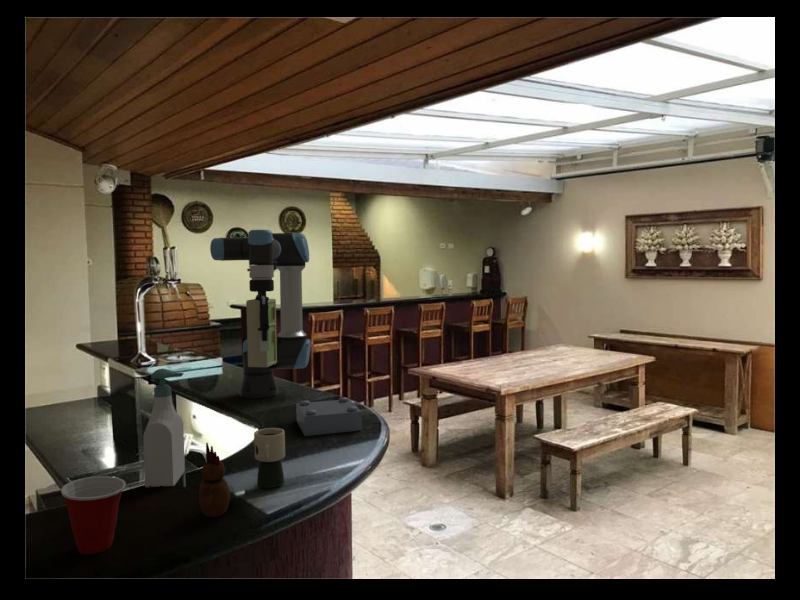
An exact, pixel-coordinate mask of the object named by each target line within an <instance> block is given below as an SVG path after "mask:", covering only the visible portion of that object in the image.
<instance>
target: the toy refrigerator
mask: <svg viewBox="0 0 800 600" xmlns="http://www.w3.org/2000/svg"><path fill="white" fill-rule="evenodd" d="M276 300H277V299H276V298H269V300H268V305H269V309H268V317H269V329H268V330H269V351H263V352H260V331H258V328H260V316H259V312H260V303H259V300H255V298H254V299H253V298H252V299H248V300H247V299H246V307H245V308H246V337H247V338H246V340H247V350H248V367H269V366H271V365H273V364H276V363H277V342H276V340H277V301H276ZM263 305H264V304H263Z"/></svg>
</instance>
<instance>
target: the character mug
mask: <svg viewBox="0 0 800 600" xmlns="http://www.w3.org/2000/svg"><path fill="white" fill-rule="evenodd" d="M285 435H286V433H285V430H284V429H283V428H280V427H279V428H278V427H269V428H267V427H266V428H263V429H262V428H261V429H257V430H256V431H254V432H253V442H254V444H253V445H254V446H253V448H254V450H253V451H254V459H255V460H257V461H259V464H258V469H257V470H258V471H257V479H256V486H258V487H259V488H263V489H264V488H269V489H271V488H272V487H278V486H282V485H284V483H285V477H284V469H283V465H282V461H281V460H283V459H285V457H286V436H285Z"/></svg>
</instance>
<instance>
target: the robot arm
mask: <svg viewBox="0 0 800 600" xmlns="http://www.w3.org/2000/svg"><path fill="white" fill-rule="evenodd" d="M209 250H210V255H211V258H212V259H213V260H214V261H220V262H223V261H225V262H227V261H248V268H247V269H246V271H247V272H249V274H248V275H249V278H250V280H249V282H248V283H249V292H252V293H253V292H255V293H257V294H256V296H255V298H254V299H255V300H259V303H260V312H259V316H260V328H258V331H260V352H263V351H269V330H268V329H269V317H268V309H269V305H268V300H269V299H270V298H269V296H267V292H273V291H274V290H275V289H274V288H275V281H274V280H273V278H274V277H275V275H274V274H275V273H274V272H275V270H274V267H275V268H276V269H277V270H278V271H279V291H280V292H279V295H280V296H279V297H280V300H279V301H280V305H279V306H280V332H279V333H278V334H276V342H277V363H276V364H273V365H271V366H269V367H248V350H247V339H245V340H244V341H243V343H242V364H243V365H242V370H243V377H242V380H241V383H240V384H241V385H240V388H239V392H238V393H239V395H238V396H239V397H240V398H243V399H250V400H251V399H252V400H253V399H258V400H259V399H266V398H267V399H268V398H272V397H275V396H278V394H279V388H278V386H277V385H278V384H277V382H276V379H275V376H274V370H275V369H277V370H282V369H285V370H286V369H287V370H288V369H294V370H296V369H305V368H306V367H307V366H308V364H309V361H310V355H311V350H312V349H311V346H312V343H311V342H312V341H311V339H309V338H307V335H308V334H307V333H306V332H305V331H304V329H303V327H304V326H303V279H302V278H303V275H302V274H303V270H304V269H305V268H306V263H309V262H310V249H309V244H308V240H307V238H306V236H305V234H303V233H302V232H301V233H300V232H273V231H272V230H271V229H250V230H249V231H248V235H247V236H246V237H214V238H213V239H212V240H211V241H210V246H209ZM274 263H275V266H274ZM263 304H264V305H263Z"/></svg>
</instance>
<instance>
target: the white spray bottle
mask: <svg viewBox="0 0 800 600" xmlns="http://www.w3.org/2000/svg"><path fill="white" fill-rule="evenodd" d="M183 375H184V372H175V371H172V370H170V369H167V368H159V369H156V370H155V371H154V372H152V374H151V376H150V378H151V379H155V380H156V379H157V380H158V379H159V384H158V385H155V387H154V388H153V395H154V396H153V397H154V398H153V405H152V406H153V407H152V411H151V413H150V416H149V419H148V422H147V425H146V428H145V430H144V433H143V437H142V439H143V440H142V441H143V444H142V445H143V462H144V463H143V465H144V466H143V467H144V470H143V471H144V486H145V488H158V487H159V488H160V486H163V487H174V486H175V485H176V484H177V483H178V481H179V479H180V478H181V477H182V475H183V474H184V473H185V471H186V464H185V435H184V433H185V432H184V429H185V428H184V421H183V419H182V417H181V416H180V414H178V413H177V411H176V408H175V406H174V403H173V396H172V386H170V385H169V384H166V379H168V378H169V379H170V378H180V377H182V376H183ZM150 486H151V487H150Z"/></svg>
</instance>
